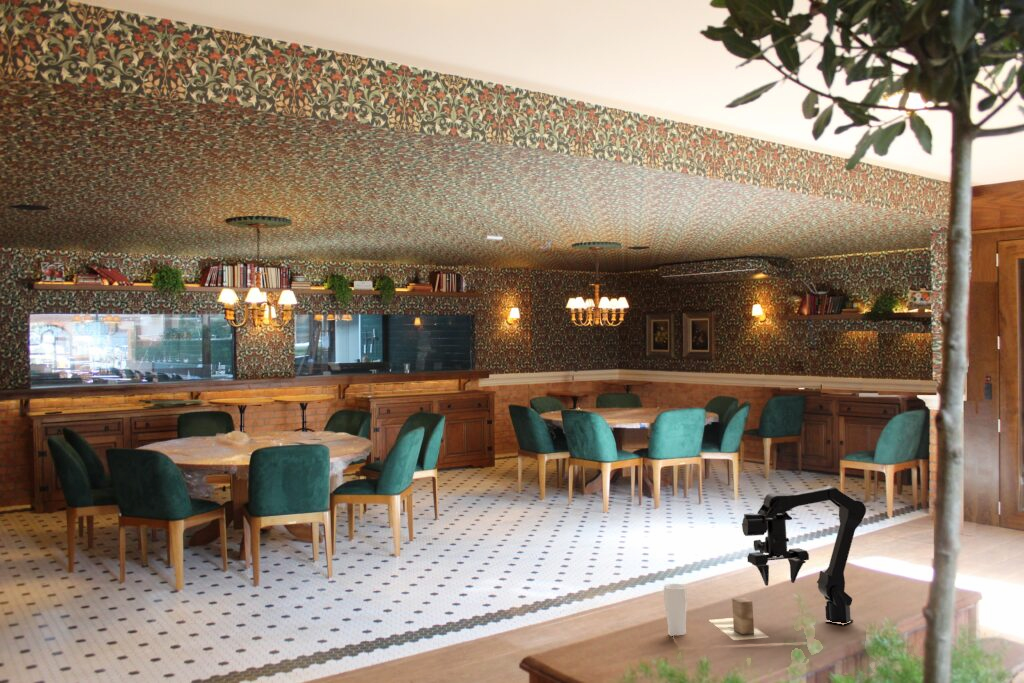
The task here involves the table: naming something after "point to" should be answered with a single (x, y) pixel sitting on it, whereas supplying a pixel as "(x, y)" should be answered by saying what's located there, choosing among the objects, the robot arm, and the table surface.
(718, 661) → the table surface
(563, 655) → the table surface
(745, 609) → the block
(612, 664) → the table surface
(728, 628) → the board
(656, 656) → the table surface
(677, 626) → the drinking glass
